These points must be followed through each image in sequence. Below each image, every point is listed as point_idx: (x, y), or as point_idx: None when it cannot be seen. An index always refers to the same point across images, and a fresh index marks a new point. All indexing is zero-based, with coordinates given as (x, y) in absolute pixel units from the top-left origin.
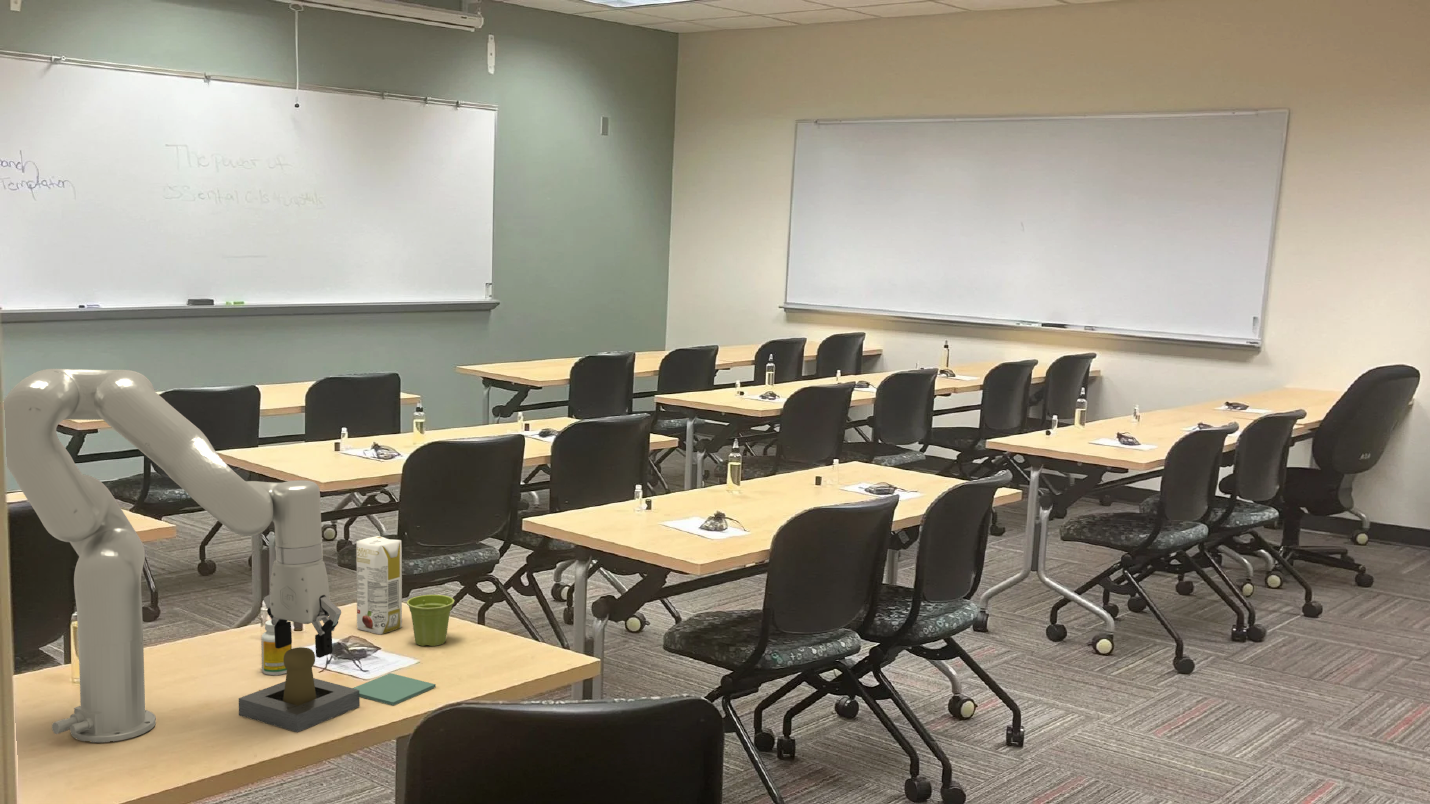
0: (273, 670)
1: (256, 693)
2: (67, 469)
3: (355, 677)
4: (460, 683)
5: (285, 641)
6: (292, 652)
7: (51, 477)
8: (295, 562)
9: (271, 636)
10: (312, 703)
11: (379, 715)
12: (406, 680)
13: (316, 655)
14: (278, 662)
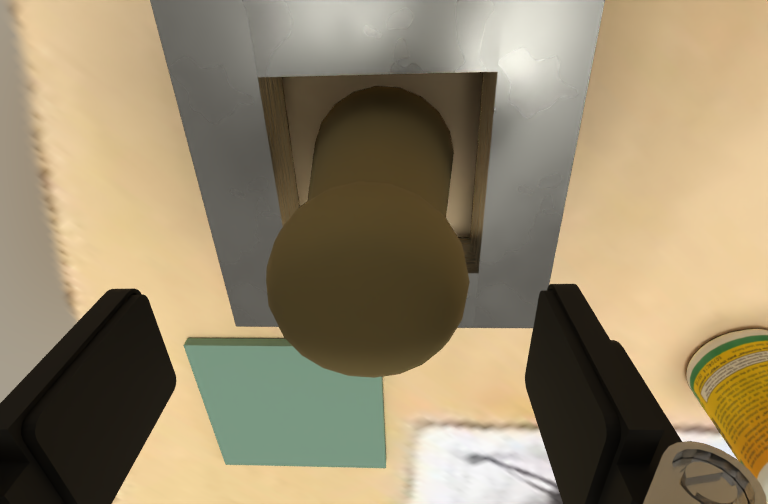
0: (731, 345)
1: (567, 76)
2: None
3: (461, 422)
4: (209, 489)
5: (539, 362)
6: (359, 267)
7: None
8: None
9: None
10: (237, 137)
11: (141, 270)
12: (306, 453)
13: (125, 293)
14: (731, 376)
